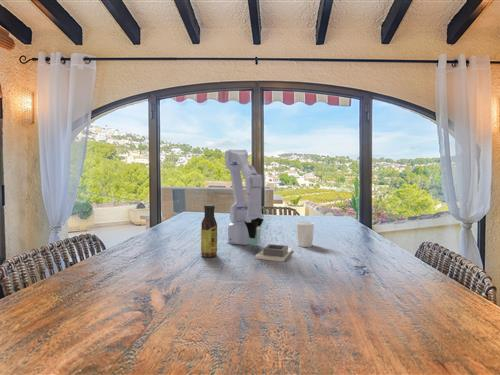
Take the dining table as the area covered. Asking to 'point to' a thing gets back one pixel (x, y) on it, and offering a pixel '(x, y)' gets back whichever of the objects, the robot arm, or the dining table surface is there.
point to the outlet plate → (274, 252)
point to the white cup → (304, 233)
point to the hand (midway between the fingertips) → (254, 236)
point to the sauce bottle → (209, 233)
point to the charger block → (257, 237)
